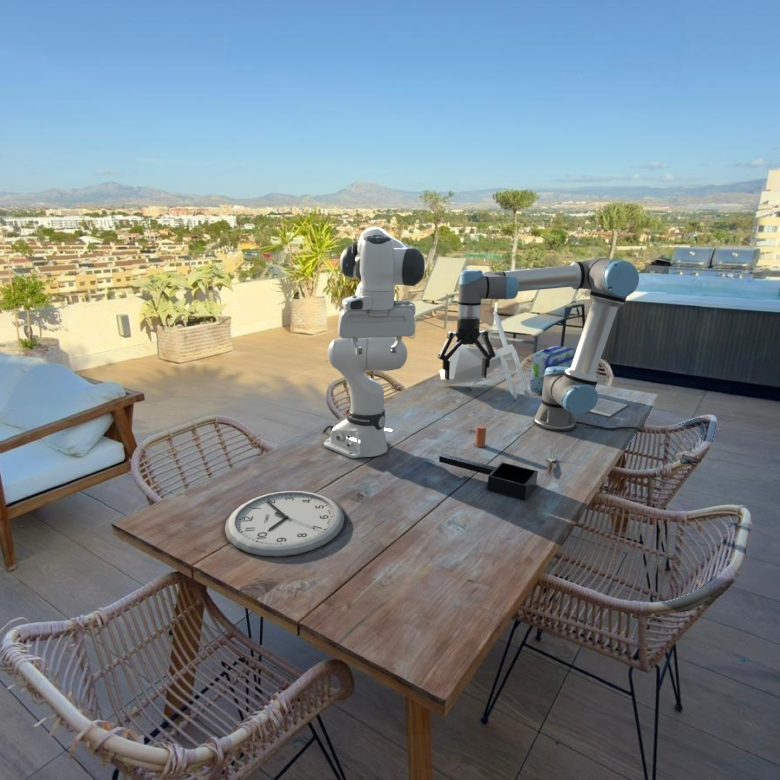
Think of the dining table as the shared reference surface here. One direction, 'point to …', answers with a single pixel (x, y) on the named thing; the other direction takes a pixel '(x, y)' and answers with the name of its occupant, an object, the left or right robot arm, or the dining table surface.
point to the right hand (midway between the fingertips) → (465, 377)
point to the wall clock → (284, 523)
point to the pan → (500, 476)
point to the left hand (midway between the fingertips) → (376, 353)
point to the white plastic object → (470, 363)
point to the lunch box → (548, 364)
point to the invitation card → (607, 407)
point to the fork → (551, 460)
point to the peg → (480, 436)
